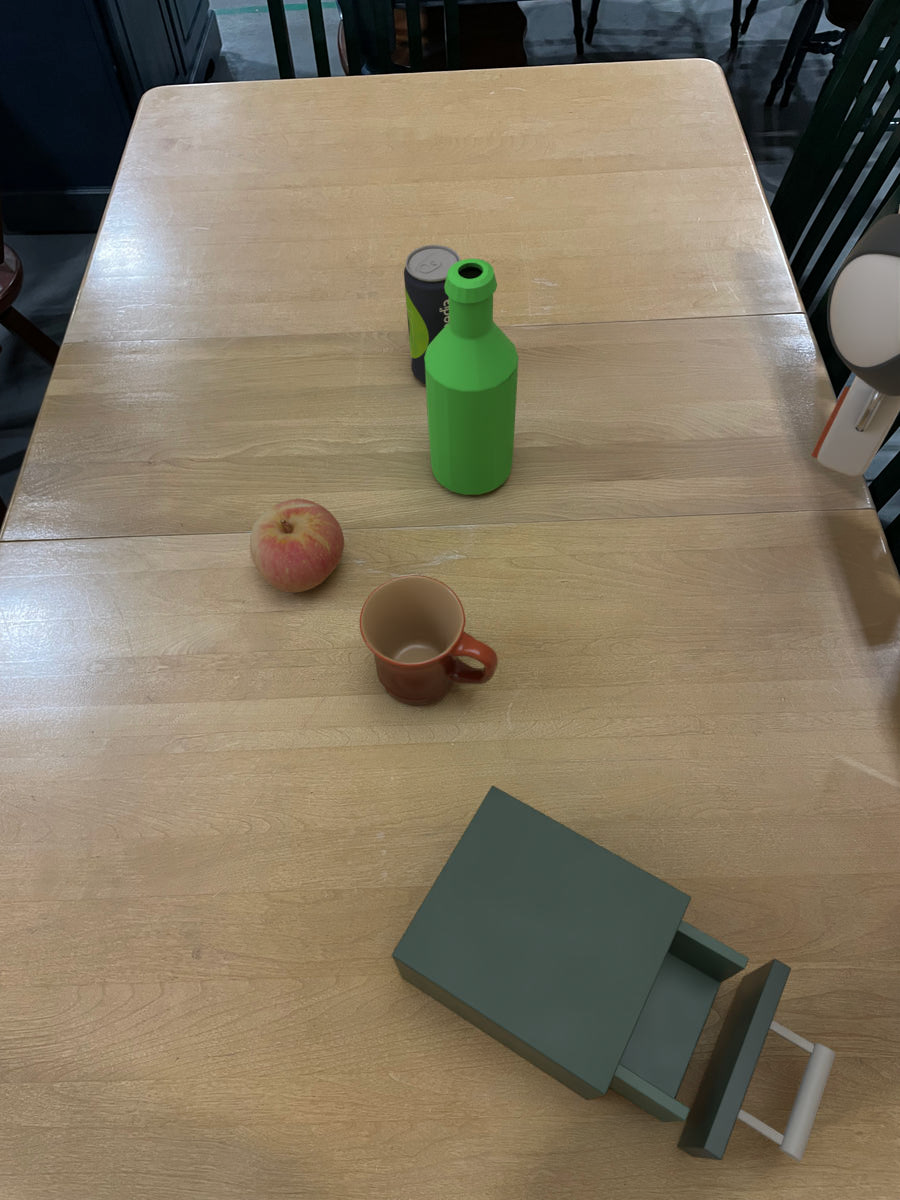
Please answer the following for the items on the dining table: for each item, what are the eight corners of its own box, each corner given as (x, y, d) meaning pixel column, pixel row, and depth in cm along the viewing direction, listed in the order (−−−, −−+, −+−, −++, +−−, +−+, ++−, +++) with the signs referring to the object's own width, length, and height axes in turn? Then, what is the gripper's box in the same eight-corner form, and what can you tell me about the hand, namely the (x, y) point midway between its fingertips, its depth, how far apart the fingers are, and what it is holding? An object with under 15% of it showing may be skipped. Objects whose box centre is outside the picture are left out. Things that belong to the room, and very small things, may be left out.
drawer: (822, 1022, 62) (864, 1009, 55) (762, 1203, 56) (801, 1212, 50) (582, 883, 68) (594, 855, 61) (505, 1034, 62) (509, 1023, 55)
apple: (364, 559, 86) (354, 510, 79) (308, 622, 82) (294, 576, 76) (298, 521, 89) (283, 471, 82) (241, 580, 85) (221, 533, 78)
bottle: (476, 426, 95) (477, 225, 74) (528, 471, 92) (545, 273, 71) (415, 465, 93) (397, 268, 71) (466, 513, 89) (463, 320, 68)
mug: (355, 696, 78) (340, 641, 69) (397, 621, 82) (389, 561, 73) (474, 746, 75) (474, 696, 66) (512, 666, 79) (517, 609, 71)
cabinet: (664, 926, 67) (692, 896, 58) (587, 1100, 61) (605, 1095, 52) (490, 825, 71) (492, 784, 63) (401, 977, 65) (390, 955, 57)
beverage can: (432, 398, 98) (425, 289, 85) (401, 368, 101) (391, 258, 88) (474, 375, 100) (475, 264, 87) (443, 346, 103) (439, 235, 90)
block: (877, 441, 75) (899, 404, 71) (862, 475, 73) (883, 439, 69) (827, 423, 76) (845, 385, 72) (810, 456, 74) (828, 419, 70)
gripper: (929, 406, 56) (851, 534, 67) (999, 239, 65) (920, 377, 76) (834, 373, 58) (774, 503, 69) (915, 215, 67) (850, 353, 78)
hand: (851, 435), depth 73 cm, fingers closed on block, 4 cm apart
